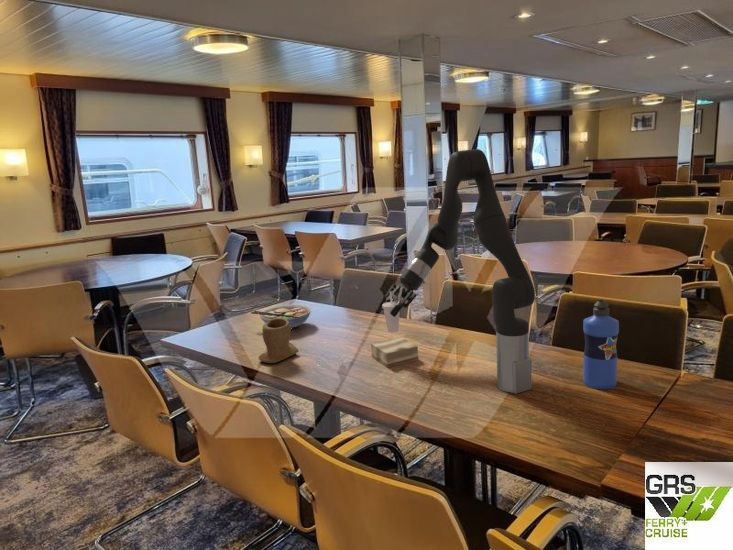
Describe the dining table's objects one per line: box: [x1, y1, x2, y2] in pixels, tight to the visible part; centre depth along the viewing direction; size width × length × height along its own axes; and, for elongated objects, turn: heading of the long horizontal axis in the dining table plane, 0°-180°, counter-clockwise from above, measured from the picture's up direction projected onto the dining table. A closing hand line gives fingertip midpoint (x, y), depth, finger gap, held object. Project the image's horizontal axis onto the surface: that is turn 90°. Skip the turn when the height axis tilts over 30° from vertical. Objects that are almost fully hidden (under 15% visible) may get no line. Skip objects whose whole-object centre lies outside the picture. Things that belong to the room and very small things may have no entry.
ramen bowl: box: [250, 303, 312, 329], centre depth 233 cm, size 25×23×8 cm
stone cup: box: [258, 318, 299, 364], centre depth 196 cm, size 15×12×15 cm
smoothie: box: [381, 291, 401, 333], centre depth 186 cm, size 6×6×14 cm
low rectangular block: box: [370, 336, 420, 369], centre depth 189 cm, size 12×12×5 cm
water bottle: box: [582, 299, 620, 390], centre depth 156 cm, size 9×9×25 cm
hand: (387, 312), depth 185 cm, fingers closed on smoothie, 6 cm apart
